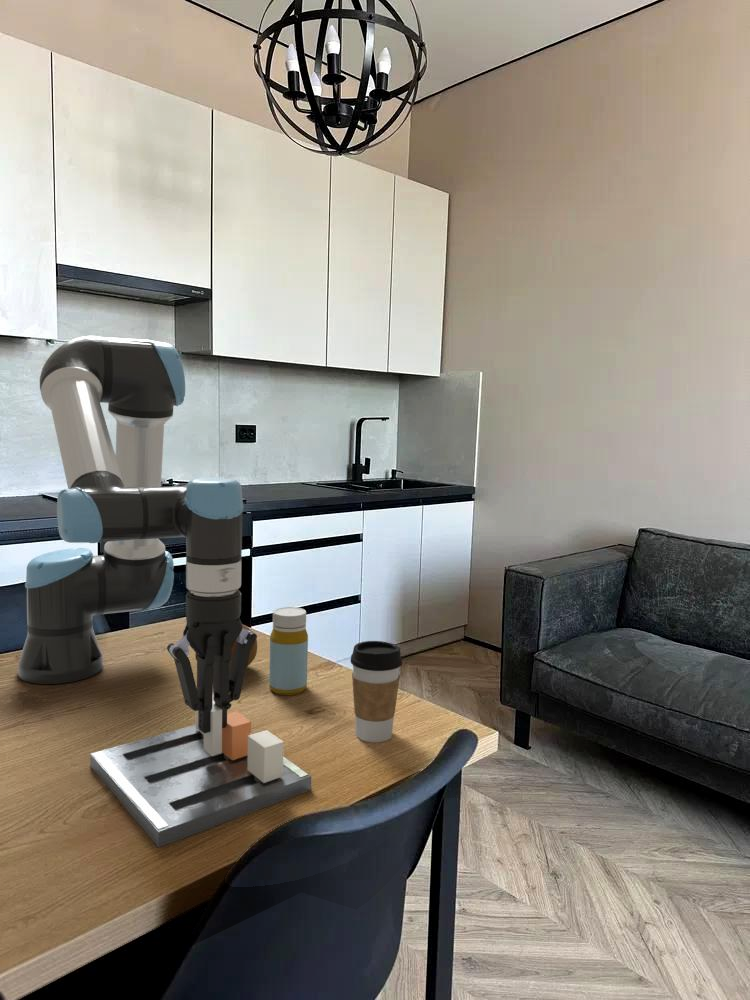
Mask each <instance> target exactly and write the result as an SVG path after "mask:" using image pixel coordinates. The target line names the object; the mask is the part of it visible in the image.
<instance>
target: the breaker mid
mask: <svg viewBox="0 0 750 1000" xmlns="http://www.w3.org/2000/svg"><path fill="white" fill-rule="evenodd" d="M251 733H252V721H251V720H249V719H248V718H247V717H246V716H244V715H242V714H241V713H239V712H238V711H237V710H236V711H232V712H227V725H226V727H225V728H222V753H224V758H225V759H226V760H229V759H231V760H235V759H238V758H241V757H244V756H247V755H248V735H251Z"/></svg>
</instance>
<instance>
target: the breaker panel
mask: <svg viewBox="0 0 750 1000" xmlns="http://www.w3.org/2000/svg"><path fill="white" fill-rule="evenodd" d="M252 734H253V732H251V735H252ZM201 736H202V733H201V732H200V731H198V730H197V729H196V724H193V725H189V726H185V727H182V728H179V729H174V730H172V731H167V732H163V733H160V734H157V735H153V736H148V737H145V738H142V739H138V740H134V741H131V742H127V743H122V744H120V745H117V746H113V747H110V748H105V749H102V750H98V751H94V752H91V753H90V754H89V757H90V761H89V762H90V769H92V771H94V773H95V774H96V775H97V776H98V777H99V779H100V780H101V782H103V783H104V784H105V786H106V787H107V788H108V789H109V790H110V792H111V793H112V794H113V795H114V797H115V798H116V799H117V800H118V802H120V804H121V805H122V806H123V807H124V809H125V810H126V811H127V812H128V813H129V815H130V816H131V817H132V818H133V819H134V821H136V823H137V824H138V825H139V826H140V828H141V829H142V830H143V832H145V833H146V835H147V836H148V837H149V838H150V839H151V841H152V842H153V843H154V844H155V845H156V847H158V848H162V847H165V846H167V845H169V844H170V845H171V844H173V843H175V842H178V841H180V840H183V839H185V838H189V837H191V836H193V835H196V834H199V833H201V832H204V831H207V830H209V829H211V828H214V827H217V826H219V825H222V824H225V823H227V822H230V821H233V820H235V819H238V818H241V817H242V816H246V815H249V814H250V813H254V812H256V811H258V810H261V809H264V808H267V807H269V806H272V805H275V804H277V803H280V802H282V801H285V800H287V799H290V798H294V797H295V796H298V795H301V794H303V793H307V792H309V791H311V790H312V775H310V774H309V773H308V772H306V771H305V770H304V769H303V768H301V767H300V766H298V765H297V764H295V763H294V762H292V761H291V760H290V759H288V758H287V757H285V756H284V755H283V777H280V778H277V779H274V780H271V781H268V782H266V783H263V782H259V783H258V782H256V781H255V780H254V775H253V774H252V773H251V772H249V771H248V770H247V763H248V755H247V756H244V757H241V758H238V759H235V760H231V759H229V760H226V759H225V758H224V753H221V754H218V755H215V756H211V755H210V754H209V753H208V752H207V751H205V750H204V749H203V746H204V738H202V737H201Z"/></svg>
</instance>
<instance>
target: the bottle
mask: <svg viewBox="0 0 750 1000" xmlns="http://www.w3.org/2000/svg"><path fill="white" fill-rule="evenodd" d="M306 627H307V611H306V610H305V609H304V608H301V607H297V606H296V607H295V606H284V607H283V606H282V607H278V608H276V609H274V610H273V611H272V631H271V633H270V634H269V635H270V636H269V637H270V638H269V676H268V677H269V678H268V680H269V682H268V683H269V685H268V686H269V688H270V690H271V691H272V692H273V693H275V694H277V695H282V696H293V695H295V696H296V695H298V694H300V693H302V692H304V690H306V689H307V686H308V658H309V657H308V655H309V653H308V651H309V650H308V649H309V648H308V647H309V634H308V631H307V628H306Z"/></svg>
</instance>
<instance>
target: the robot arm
mask: <svg viewBox="0 0 750 1000" xmlns="http://www.w3.org/2000/svg"><path fill="white" fill-rule="evenodd" d="M185 376H186V375H185V371H184V366H183V362H182V359H181V357H180V353H179V351H178V350H177V349H176V347H175V346H173V345H172V344H171V343H168V342H163V341H158V340H151V339H139V338H138V339H137V338H121V337H105V336H104V337H103V336H99V335H98V336H96V335H87V336H80V337H76V338H73V339H71V340H69V341H67V342H66V343H63V344H61V345H60V346H58V348H56V350H54V351H53V352H52V353H51V354H50V355H49V357H48V358H47V360H45V363H44V364H43V366H42V369H41V372H40V377H39V389H40V390H39V391H40V395H41V398H42V401H43V403H44V404H45V406H46V407H47V408H48V409H49V410H50V411H51V415H52V420H53V424H54V429H55V434H56V438H57V443H58V447H59V453H60V457H61V462H62V466H63V472H64V476H65V481H66V485H67V488H64V489H61V491H59V492H58V495H57V500H56V501H57V502H56V520H57V530H58V533H59V536H60V538H61V539H62V540H63V541H64V542H66V543H73V544H75V543H76V544H77V543H78V544H79V543H81V544H85V543H89V544H97V543H105V544H104V546H103V554H101V555H100V554H99V555H93V552H92V551H91V549H89V548H84V547H79V548H75V547H74V548H65V549H58V550H54V551H50V552H46V553H42V554H39V555H36V556H35V557H33V558H32V559H31V560H30V561H29V562H28V564H27V565H26V572H25V573H26V576H25V579H26V580H25V582H24V587H25V589H26V618H27V619H26V622H27V624H26V625H27V635H26V639H25V641H24V644H23V648H22V651H21V654H20V658H19V660H18V664H17V670H18V671H17V673H18V674H17V675H18V677H19V679H20V680H22V681H24V682H26V683H31V684H39V685H57V684H58V685H59V684H66V683H72V682H77V681H81V680H84V679H87V678H89V677H92V676H95V675H96V674H98V673H99V672H100V671H101V670H102V669H103V667H104V657H103V652H102V650H101V646H100V645H99V642H98V639H97V636H96V633H95V631H94V627H93V625H94V624H93V623H94V622H93V621H94V616H98V615H106V614H117V613H126V612H136V611H140V612H143V611H147V610H150V609H155V608H161V607H162V606H163V605H165V604H166V603H167V602H168V600H169V598H170V596H171V593H172V590H173V586H174V580H175V572H174V568H175V565H174V559H173V556H172V554H171V553H170V552H169V551H167V550H166V545H165V544H164V542H163V541H162V540H160V539H168V538H169V539H172V538H186V539H185V548H186V550H185V552H186V554H185V588H186V589H187V590H188V591H187V593H186V594H185V621H186V625H185V627H184V629H183V632H182V638H180V639H179V640H178V641H176V643H172V642H171V643H169V644H168V645H167V646H166V650H167V652H168V653H169V654H170V656H171V657H172V658H173V660H174V661H173V662H174V664H175V668H176V672H177V676H178V680H179V681H178V682H179V686H180V689H181V691H182V692H181V693H182V697H183V700H184V703H185V705H186V706H187V707H189V708H190V709H192V710H193V711H194V712H196V711H198V727H199V730H200V731H202V732H203V733H204V746H203V749H204V750H205V751H207V752H208V753H209V754H210V755H211V756H215V755H218V754H221V753H222V728H225V727H226V725H227V714H228V710H229V709H231V707H232V704H231V703H232V702H233V701H238V700H239V699H240V697H241V694H242V689H243V685H244V680H245V676H246V672H247V671H246V670H247V667H248V666H247V663H248V659H249V655H250V650H251V648H252V646H253V644H254V642H255V641H256V639H257V638H258V635H257V634H256V633H255V632H253V631H252V630H251V631H252V632H251V631H249V630H247V629H243V625H244V624H243V623H242V621H241V618H240V616H241V614H242V593H241V591H240V590H239V589H240V588H241V586H242V553H243V549H242V548H243V546H242V545H243V512H244V507H245V506H244V502H243V501H244V500H243V488H242V484H241V483H240V482H239V481H238V480H236V479H233V478H225V477H200V478H199V477H197V478H193V479H191V480H190V481H188V482H187V483H183V482H182V483H177V484H174V485H172V486H162V470H163V454H164V453H163V451H164V436H165V433H164V432H165V424H166V423H167V422H168V421H169V420H170V419H171V418H173V416H174V407H175V406H176V407H178V406H181V405H182V404H183V403H184V401H185V397H186V379H185ZM101 403H104V404H108V409H107V411H108V413H109V414H110V415H111V416H112V417H113V418H114V419H115V421H116V426H115V428H116V431H115V450H114V447H113V446H114V445H113V442H112V439H111V436H110V432H109V428H108V426H107V422H106V419H105V414H104V412H103V408H102V405H101ZM242 624H243V625H242ZM236 640H237V642H236V644H235V648H234V652H233V657H232V661H231V666H230V670H229V661H230V660H231V648H232V646H233V645H234V643H235V641H236ZM189 646H190V648H191V650H193V651H194V653H195V660H196V681H195V676H194V672H193V668H192V664H191V660H190V659H189V655H190V649H189ZM213 664H214V670H213ZM213 700H214V702H215V704H214V703H212V701H213Z"/></svg>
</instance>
